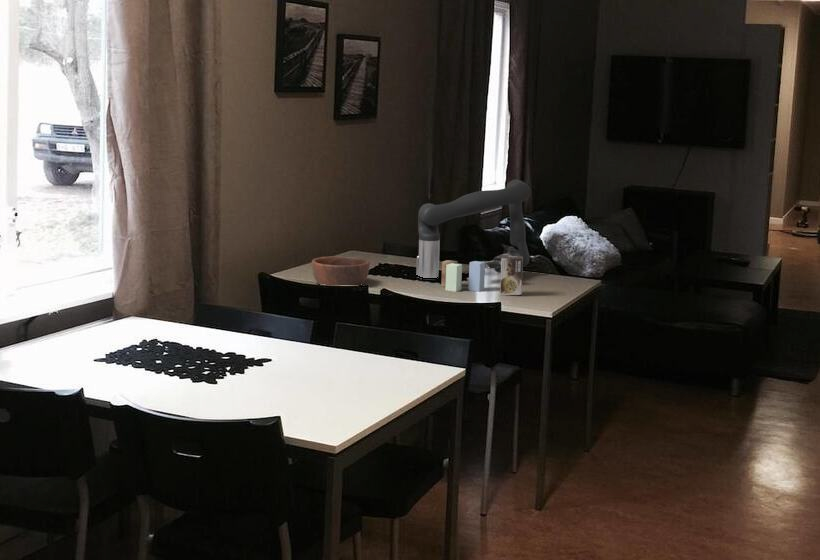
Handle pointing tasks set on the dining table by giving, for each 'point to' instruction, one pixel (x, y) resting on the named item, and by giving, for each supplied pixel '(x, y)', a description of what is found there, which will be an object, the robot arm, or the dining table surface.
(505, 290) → the coffee box
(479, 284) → the slate block
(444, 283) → the walnut block
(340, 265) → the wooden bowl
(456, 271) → the sage block
